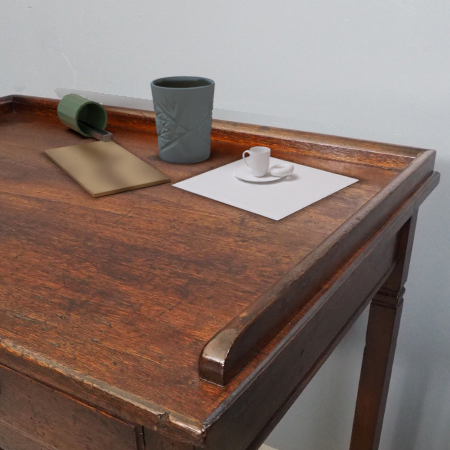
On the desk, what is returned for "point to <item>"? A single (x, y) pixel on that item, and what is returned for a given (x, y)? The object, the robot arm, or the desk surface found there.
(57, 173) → the desk surface
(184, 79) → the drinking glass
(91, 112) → the green cup
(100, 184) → the cork mat
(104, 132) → the tongs
